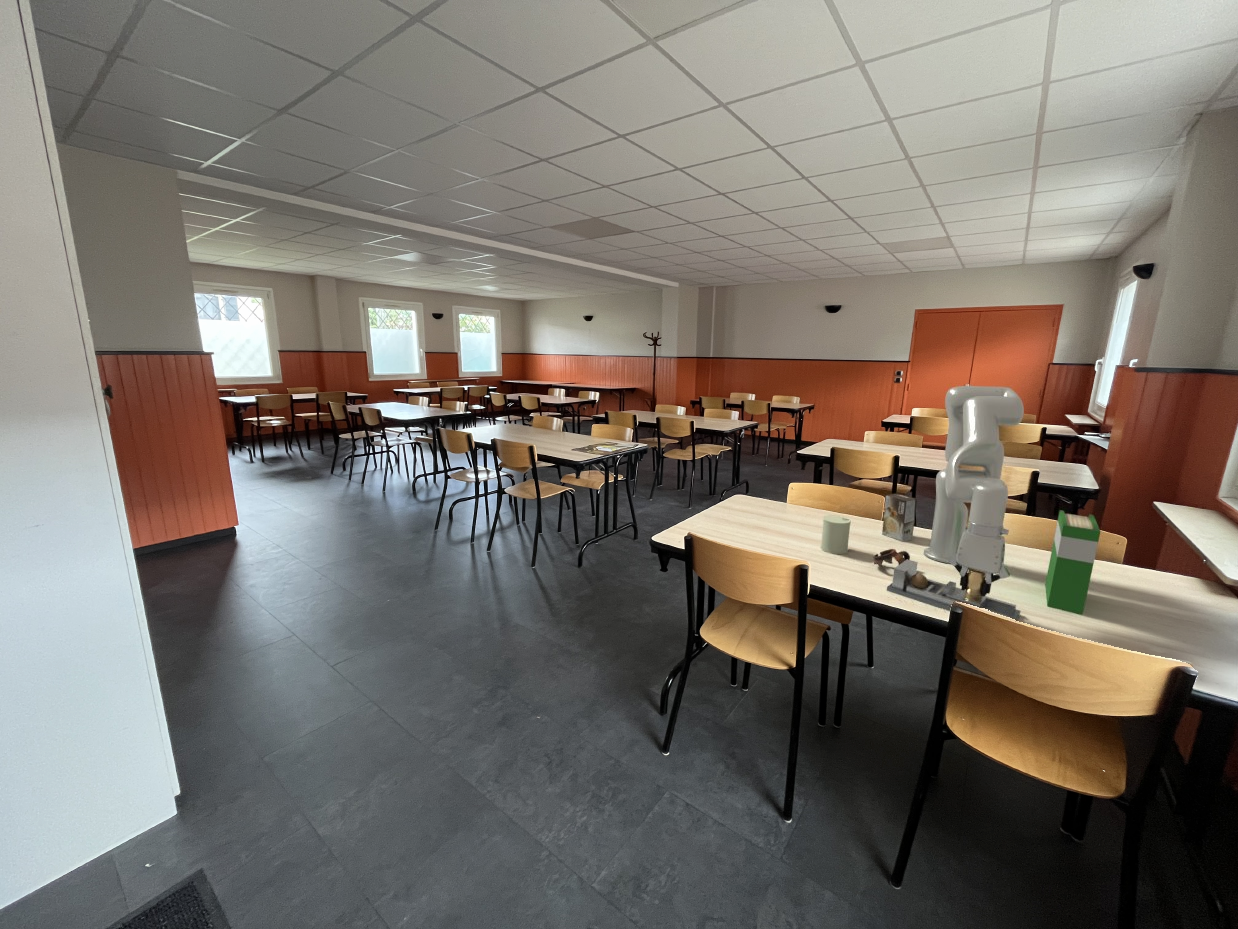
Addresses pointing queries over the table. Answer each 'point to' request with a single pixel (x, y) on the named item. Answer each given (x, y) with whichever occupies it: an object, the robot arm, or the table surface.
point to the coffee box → (899, 517)
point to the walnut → (919, 581)
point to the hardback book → (1071, 562)
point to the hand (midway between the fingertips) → (974, 591)
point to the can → (835, 534)
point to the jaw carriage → (968, 589)
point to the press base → (938, 592)
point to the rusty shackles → (888, 556)
